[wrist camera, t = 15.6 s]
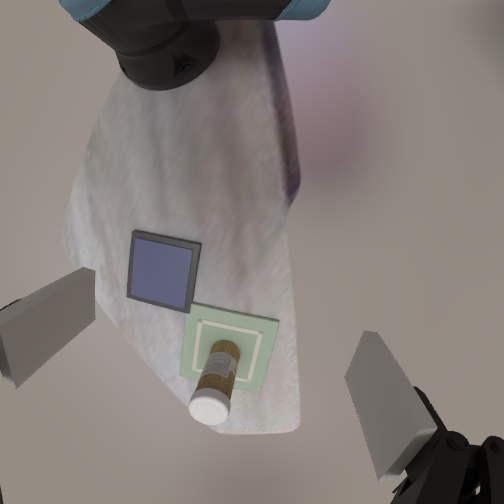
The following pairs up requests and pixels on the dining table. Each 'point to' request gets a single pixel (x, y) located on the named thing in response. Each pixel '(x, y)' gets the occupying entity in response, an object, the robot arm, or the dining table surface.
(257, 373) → the board
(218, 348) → the sprinkles bottle
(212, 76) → the dining table surface
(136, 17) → the robot arm
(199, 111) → the dining table surface
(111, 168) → the dining table surface
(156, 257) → the ink pad
